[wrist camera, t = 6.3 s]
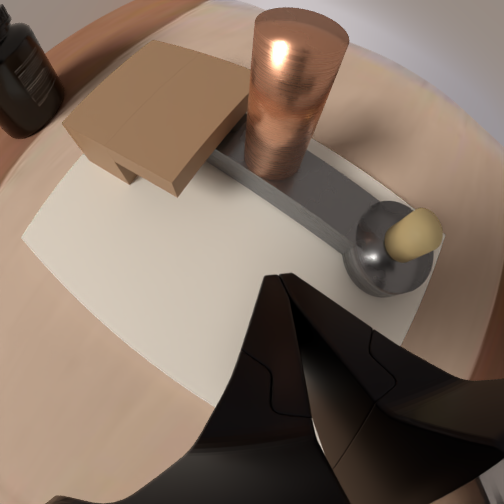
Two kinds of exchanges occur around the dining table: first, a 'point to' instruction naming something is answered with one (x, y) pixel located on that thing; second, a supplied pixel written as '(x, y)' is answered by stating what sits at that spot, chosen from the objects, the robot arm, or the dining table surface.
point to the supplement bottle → (25, 81)
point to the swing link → (304, 162)
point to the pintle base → (192, 222)
